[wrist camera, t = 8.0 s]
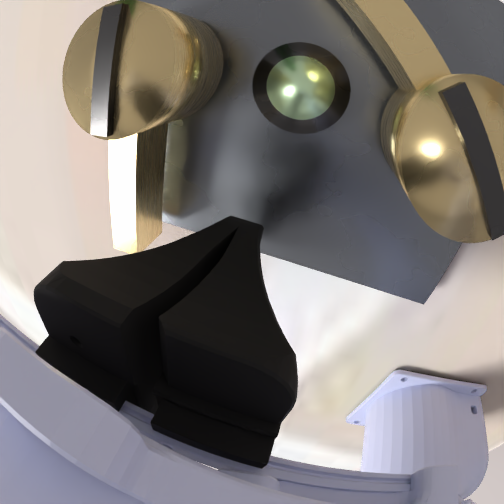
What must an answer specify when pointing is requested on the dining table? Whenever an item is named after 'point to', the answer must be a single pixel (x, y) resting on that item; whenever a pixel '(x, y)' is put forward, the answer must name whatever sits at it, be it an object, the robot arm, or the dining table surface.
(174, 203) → the plate
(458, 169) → the front knob
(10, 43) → the dining table surface
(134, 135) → the rear knob
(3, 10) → the dining table surface
